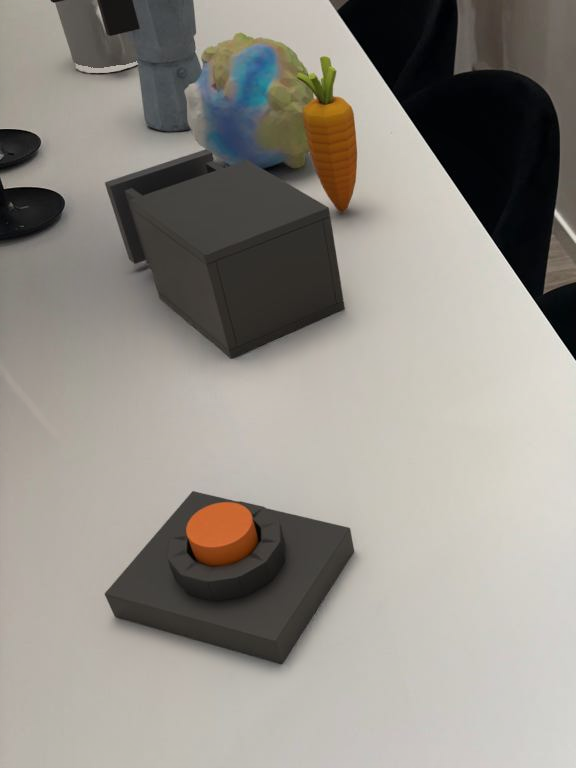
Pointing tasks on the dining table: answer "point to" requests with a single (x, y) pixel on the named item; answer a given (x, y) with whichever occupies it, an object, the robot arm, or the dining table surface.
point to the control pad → (235, 582)
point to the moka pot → (165, 60)
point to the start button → (222, 534)
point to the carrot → (331, 136)
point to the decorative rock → (250, 103)
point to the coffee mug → (92, 36)
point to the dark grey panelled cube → (240, 255)
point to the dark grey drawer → (147, 183)
